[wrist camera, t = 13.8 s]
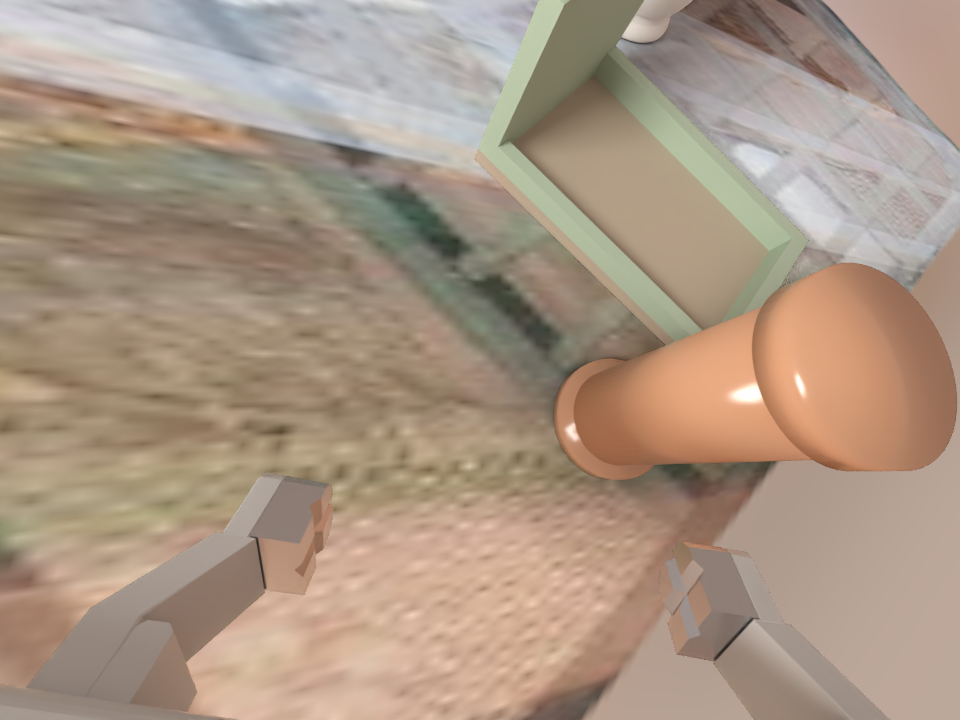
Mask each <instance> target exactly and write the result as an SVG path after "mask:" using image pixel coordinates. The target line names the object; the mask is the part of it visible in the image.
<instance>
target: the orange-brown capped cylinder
mask: <svg viewBox="0 0 960 720" xmlns="http://www.w3.org/2000/svg"><path fill="white" fill-rule="evenodd" d="M956 413H957V393H956V384H955V379H954V373H953V369H952V366H951V362H950V359H949V356H948V353H947V351H946V348H945V345H944V343H943V341H942V339H941V337H940V335H939V333H938V331H937V329H936V327H935V326H934V324H933V322H932V321H931V319H930V318H929V316H928V315H927V313H926V312H925V310H924V309H923V308H922V306H921V305H920V304H919V303H918V301H916V299H915V298H914V297H913V296H912V295H911V294H910V293H909V292H908V291H907V290H906V289H905V288H904V287H903V286H902V285H900V284H899V283H898V282H896V281H895V280H894V279H892V278H891V277H890V276H888V275H886V274H884V273H883V272H881V271H879V270H877V269H874V268H872V267H869V266H866V265H862V264H856V263H841V264H836V265H832V266H830V267H828V268H825V269H823V270H821V271H818V272H816V273H814V274H811V275H809V276H807V277H804V278H802V279H800V280H797V281H795V282H792V283H790V284H788V285H786V286H783V287H781V288H779V289H778V290H777V291H775V292H774V293H773V294H772V295H771V296H770V297H769V298H768V299H767V300H766V301H765V303H764V304H763V306H762V307H760V308H758V309H755V310H753V311H750V312H748V313H745V314H743V315H740V316H738V317H735V318H733V319H730V320H728V321H725V322H723V323H720V324H718V325H715V326H713V327H710V328H708V329H705V330H703V331H700V332H698V333H695V334H693V335H690V336H688V337H685V338H683V339H680V340H678V341H675V342H673V343H670V344H668V345H665V346H663V347H660V348H658V349H655V350H653V351H650V352H648V353H645V354H643V355H640V356H638V357H635V358H633V359H630V360H628V361H625V362H623V363H620V364H618V365H615V366H613V367H610V368H608V369H605V370H603V371H600V372H598V373H596V374H594V375H592V376H590V377H589V378H588V379H587V380H586V381H585V382H584V383H583V384H582V386H581V387H580V389H579V391H578V393H577V395H576V398H575V403H574V422H575V427H576V430H577V433H578V435H579V437H580V439H581V441H582V443H583V444H584V446H585V447H586V448H587V449H588V450H589V451H590V452H591V454H593V455H594V456H595V457H596V458H598V459H600V460H601V461H603V462H606V463H608V464H612V465H618V466H623V465H657V464H691V463H724V462H758V461H791V460H814V461H816V462H818V463H820V464H822V465H824V466H826V467H829V468H832V469H836V470H842V471H911V470H916V469H920V468H923V467H925V466H927V465H929V464H930V463H932V462H933V461H934V460H936V459H937V458H938V457H939V456H940V455H941V453H942V452H943V451H944V450H945V448H946V446H947V445H948V443H949V441H950V438H951V436H952V433H953V430H954V426H955V421H956Z"/></svg>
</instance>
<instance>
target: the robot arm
mask: <svg viewBox="0 0 960 720" xmlns="http://www.w3.org/2000/svg"><path fill="white" fill-rule="evenodd" d="M332 495H333V494H332V485H331V484H326V483H321V482H316V481H310V480H305V479H300V478H295V477H290V476H284V475H278V474H273V473H267V472H265V473H264V474H262V475H261V476H260V477H259V478H258V479H257V481H256V482H255V484H254V485H253V487H252V488H251V490H250V491H249V493H248V495H247V496H246V498H245V499H244V501H243V502H242V504H241V505H240V507H239V508H238V510H237V511H236V513H235V515H234V516H233V518H232V519H231V521H230V522H229V524H228V525H227V527H226V528H225V530H224V531H223V533H221V532H215V533H213V534H211V535H210V536H208V537H206V538H205V539H203V540H202V541H200V542H198V543H197V544H195V545H193V546H192V547H190V548H188V549H187V550H185V551H183V552H182V553H180V554H178V555H177V556H175V557H174V558H172V559H170V560H169V561H167V562H165V563H164V564H162V565H160V566H159V567H157V568H155V569H154V570H152V571H150V572H149V573H147V574H146V575H144V576H142V577H141V578H139V579H137V580H136V581H134V582H132V583H131V584H129V585H127V586H126V587H124V588H123V589H121V590H119V591H118V592H116V593H114V594H113V595H111V596H109V597H108V598H106V599H104V600H103V601H101V602H99V603H98V604H96V605H95V606H93V607H91V608H90V609H89V610H88V611H87V613H86V614H85V615H84V616H83V618H82V619H81V620H80V621H79V623H78V624H77V625H76V626H75V628H74V629H73V630H72V631H71V632H70V634H69V635H68V636H67V637H66V639H65V640H64V641H63V642H62V644H61V645H60V646H59V647H58V649H57V650H56V651H55V652H54V653H53V655H52V656H51V657H50V658H49V660H48V661H47V662H46V663H45V665H44V666H43V667H42V668H41V670H40V671H39V672H38V673H37V674H36V676H35V677H34V678H33V679H32V681H31V682H30V683H29V684H28V686H27V687H26V688H25V687H18V686H12V685H5V684H0V720H236V719H230V718H223V717H217V716H210V715H203V714H197V713H190V712H187V711H188V709H189V707H190V705H191V703H192V701H193V699H194V697H195V695H196V693H197V690H196V686H195V683H194V680H193V678H192V675H191V673H190V671H189V668H188V666H187V663H186V662H187V661H188V660H189V659H190V658H191V657H193V656H194V655H195V654H196V653H197V652H198V651H199V650H200V649H202V648H203V647H204V646H205V645H206V644H207V643H208V642H210V641H211V640H212V639H213V638H214V637H215V636H216V635H217V634H219V633H220V632H221V631H222V630H223V629H224V628H225V627H227V626H228V625H229V624H230V623H231V622H232V621H233V620H234V619H236V618H237V617H238V616H239V615H240V614H241V613H242V612H244V611H245V610H246V609H247V608H248V607H249V606H250V605H251V604H253V603H254V602H255V601H256V600H257V599H258V598H259V597H261V596H262V595H263V594H264V593H265V590H268V591H276V592H283V593H291V594H299V595H305V592H306V590H307V587H308V585H309V583H310V580H311V578H312V575H313V573H314V571H315V568H316V554H317V553H319V552H320V551H321V550H323V549H324V546H325V544H326V541H327V539H328V536H329V532H330V528H331V525H332V518H333V507H332V506H331V505H330V504H329V502H330V499H331V497H332ZM673 554H674V557H675V558H673V559H671V560H669V561H667V562H665V563H664V565H663V567H662V569H661V570H660V576H659V593H660V597H661V600H662V604H663V605H664V606H665V607H666V609H667V610H668V611H669V612H670V613H671V614H672V615H671V617H670V620H669V622H668V625H669V630H670V633H671V637H672V640H673V644H674V647H675V651H676V654H677V655H682V656H688V657H693V658H699V659H704V660H709V661H714V663H713V664H714V665H715V666H716V668H717V669H718V671H719V672H720V673H721V675H722V676H723V677H724V679H725V680H726V681H727V683H728V684H729V686H730V687H731V688H732V690H733V691H734V693H735V694H736V695H737V697H738V698H739V699H740V701H741V702H742V703H743V705H744V706H745V708H746V709H747V710H748V712H749V713H750V714H751V716H752V717H753V718H754V720H890V719H889V718H888V717H887V716H886V715H885V714H884V713H883V712H882V711H881V710H879V709H878V708H877V707H876V706H875V705H874V704H873V703H872V702H871V701H870V700H869V699H868V698H867V697H866V696H865V695H864V694H863V693H862V692H861V691H860V690H859V689H858V688H857V687H855V686H854V685H853V684H852V683H851V682H850V681H849V680H848V679H847V678H846V677H845V676H844V675H843V674H842V673H841V672H840V671H838V669H837V668H836V667H835V666H833V664H831V663H830V662H829V661H828V660H827V659H826V658H825V657H824V656H823V655H822V654H821V653H820V652H819V651H818V650H817V649H816V648H815V647H814V646H813V645H812V644H811V643H809V641H807V640H806V639H805V638H804V637H803V636H802V635H801V634H800V633H799V632H798V631H797V630H796V629H795V628H794V627H793V626H792V625H788V624H785V623H784V621H783V619H782V617H781V615H780V613H779V611H778V610H777V607H776V605H775V603H774V602H773V599H772V597H771V595H770V593H769V591H768V589H767V587H766V585H765V583H764V581H763V579H762V577H761V575H760V573H759V571H758V569H757V567H756V565H755V563H754V561H753V559H752V557H751V556H750V555H749V554H748V553H747V552H742V551H736V550H730V549H723V548H721V547H714V546H708V545H701V544H694V543H688V542H680V543H678V544H677V545H676V546H675V548H674V549H673Z"/></svg>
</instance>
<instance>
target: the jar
mask: <svg viewBox="0 0 960 720" xmlns="http://www.w3.org/2000/svg"><path fill="white" fill-rule="evenodd" d="M692 1H693V0H644V2H643V3H642V5H641V6H640V8H639V10H638V11H637V13H636V14H635V16H634V18H633V19H632V21H631V22H630V24H629V26H628V27H627V29H626V30H625V32H624V33H623V35H622V38H624V39H627V40H629V41H633V42H638V43H647V42H652V41H655V40H657V39H659V38H660V37H661V36H662V35H663V34H664V33H665V31H666V30H667V28H668V25H669V22H670V16H672V15H674V14H675V13H677V12H678V11H680V10H681V9H683V8H684V7H685V6H687V5H688V4H689V3H690V2H692Z"/></svg>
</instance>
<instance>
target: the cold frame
mask: <svg viewBox="0 0 960 720" xmlns="http://www.w3.org/2000/svg"><path fill="white" fill-rule="evenodd" d="M643 2H644V0H539V2H538V4H537V7H536V9H535V12H534V14H533V16H532V19H531V21H530V24H529V26H528V29H527V31H526V34H525V36H524V39H523V41H522V43H521V46H520V48H519V51H518V53H517V56H516V58H515V61H514V63H513V65H512V68H511V70H510V73H509V75H508V78H507V80H506V83H505V85H504V88H503V90H502V92H501V95H500V97H499V100H498V102H497V105H496V107H495V110H494V112H493V114H492V117H491V119H490V122H489V124H488V127H487V129H486V132H485V134H484V137H483V139H482V141H481V144H480V146H479V149H478V151H477V154H476V156H475V160H476V161H477V162H478V163H479V164H480V165H481V166H482V167H483V168H484V169H485V170H486V171H487V172H488V173H489V174H490V175H491V176H492V177H493V178H494V179H495V180H496V181H497V182H499V183H500V184H501V185H502V186H503V187H504V188H505V189H506V190H507V191H508V192H509V193H510V194H511V195H512V196H513V197H514V198H515V199H516V200H517V201H518V202H519V203H520V204H521V205H522V206H523V207H524V208H525V209H526V210H527V211H528V212H529V213H530V214H531V215H532V216H533V217H534V218H535V219H536V220H538V221H539V222H540V223H541V224H542V225H543V226H544V227H545V228H546V229H547V230H548V231H549V232H550V233H551V234H552V235H553V236H554V237H555V238H556V239H557V240H558V241H559V242H560V243H561V244H562V245H563V246H564V247H565V248H566V249H567V250H568V251H569V252H570V253H571V254H572V255H573V256H574V257H575V258H577V259H578V260H579V261H580V262H581V263H582V264H583V265H584V266H585V267H586V268H587V269H588V270H589V271H590V272H591V273H592V274H593V275H594V276H595V277H596V278H597V279H598V280H599V281H600V282H601V283H602V284H603V285H604V286H605V287H606V288H607V289H608V290H609V291H610V292H611V293H612V294H613V295H614V296H616V297H617V298H618V299H619V300H620V301H621V302H622V303H623V304H624V305H625V306H626V307H627V308H628V309H629V310H630V311H631V312H632V313H633V314H634V315H635V316H636V317H637V318H638V319H639V320H640V321H641V322H642V323H643V324H644V325H645V326H646V327H647V328H648V329H649V330H650V331H651V332H652V333H653V334H655V335H656V336H657V337H658V338H659V339H660V340H661V341H662V342H663V343H664V344H665V345H668V344H670V343H673V342H675V341H678V340H680V339H683V338H685V337H688V336H690V335H693V334H695V333H698V332H700V331H703V330H705V329H708V328H710V327H713V326H715V325H718V324H720V323H723V322H725V321H728V320H730V319H733V318H735V317H738V316H740V315H743V314H745V313H748V312H750V311H753V310H755V309H758V308H760V307H762V306H763V304H764V303H765V301H766V300H767V299H768V298H769V297H770V296H771V295H772V294H773V293H774V292H775V291H777V290H778V289H779V288H780V286H781V284H782V283H783V281H784V280H785V278H786V276H787V275H788V273H789V272H790V270H791V268H792V267H793V265H794V264H795V262H796V260H797V259H798V257H799V255H800V254H801V252H802V251H803V249H804V247H805V246H806V244H807V243H808V241H809V240H808V239H807V238H806V237H805V236H804V235H803V234H802V233H801V232H800V231H799V230H798V229H797V228H796V227H795V226H794V225H793V224H792V223H791V222H790V221H789V220H788V219H787V218H786V217H785V216H784V215H783V214H782V213H781V212H780V211H779V210H778V209H777V208H776V207H775V206H774V205H773V204H772V203H771V202H770V201H769V200H768V199H767V198H766V197H765V196H764V195H763V194H762V193H761V192H760V191H759V190H758V189H757V188H756V187H755V186H754V185H753V184H752V183H751V182H750V181H749V179H748V178H747V177H746V176H745V175H744V174H743V173H742V172H741V171H740V170H739V169H738V168H737V167H736V166H735V165H734V164H733V163H732V162H731V161H730V160H729V159H728V158H727V157H726V156H725V155H724V154H723V153H722V152H721V151H720V150H719V149H718V148H717V147H716V146H715V145H714V144H713V143H712V142H711V141H710V140H709V139H708V138H707V137H706V136H705V135H704V134H703V133H702V132H701V131H700V130H699V129H698V128H697V127H696V126H695V125H694V124H693V123H692V122H691V121H690V120H689V119H688V118H687V117H686V116H685V115H684V114H683V113H682V112H681V111H680V110H679V109H678V108H677V107H676V106H675V105H674V104H673V103H672V102H671V101H670V100H669V99H668V98H667V97H666V96H665V95H664V94H663V93H662V92H661V91H660V90H659V89H658V88H657V87H656V86H655V85H654V84H653V83H652V82H651V81H650V80H649V79H648V78H647V77H646V76H645V75H644V74H643V73H642V72H641V71H640V70H639V69H638V68H637V67H636V66H635V65H634V64H633V63H632V62H631V61H630V60H629V59H628V58H627V57H626V56H625V55H624V54H623V53H622V52H621V51H620V50H619V49H618V48H617V47H616V45H617V43H618V41H619V40H620V38H621V37H622V35H623V33H624V32H625V30H626V29H627V27H628V26H629V24H630V22H631V21H632V19H633V18H634V16H635V14H636V13H637V11H638V10H639V8H640V6H641V5H642V3H643Z"/></svg>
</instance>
